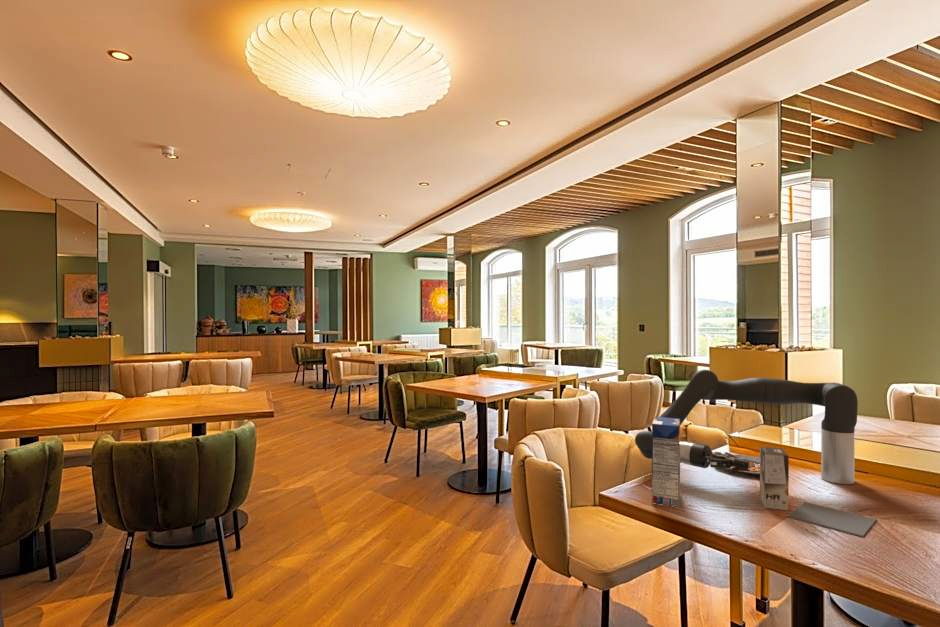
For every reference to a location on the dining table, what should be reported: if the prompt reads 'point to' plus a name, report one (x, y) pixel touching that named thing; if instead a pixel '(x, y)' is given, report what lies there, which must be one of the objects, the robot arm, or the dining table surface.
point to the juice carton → (666, 461)
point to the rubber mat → (833, 518)
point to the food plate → (752, 466)
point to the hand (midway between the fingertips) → (748, 465)
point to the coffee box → (774, 478)
